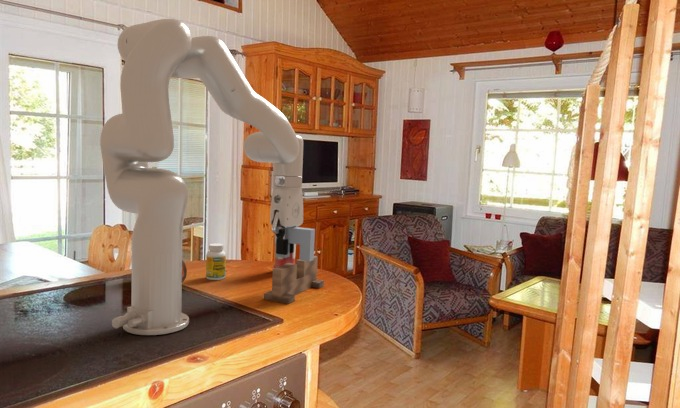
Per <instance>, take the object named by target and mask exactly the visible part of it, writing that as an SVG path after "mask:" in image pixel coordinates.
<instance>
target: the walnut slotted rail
mask: <svg viewBox="0 0 680 408" xmlns="http://www.w3.org/2000/svg"><path fill="white" fill-rule="evenodd" d="M318 257H319V256H318V255H314V260H312V261H302V260H299V259H295V264H293V263H287V264H284V265H282V266H279V267H276V268H274V267H272V275H271V276H272V278H271V279H272V281H271V290H269V291H266V292H264V293H263V300H264V301H271V302H274V303H281V304H286V305H290V304H291V303H294V302H295V301H296V299H295V298H296V295H298V294H300V293H303V292H305V291H306V290H309V289H311V288H314V289H315V288H316V289H321V288H323V287H324V286H325V280H324V279H323V280H322V279H318Z"/></svg>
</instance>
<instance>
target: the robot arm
mask: <svg viewBox="0 0 680 408" xmlns="http://www.w3.org/2000/svg"><path fill="white" fill-rule="evenodd" d="M116 43H117V50H118V53H119V55H120V57H121V58H122V60H123V61H124V65H123V66H122V70H121V75H120V81H119V83H120V85H119V86H120V87H119V88H120V99H121V109H122V113H119V114H118V113H117V114H114V116H112V117H109V119H107V121H106V122H105V123H104V125H103V126H102V128H101V129H102V130H101V132H100V142H99V143H100V144H99V145H100V151H101V158H102V159H101V160H102V164H103V165H102V166H103V172H104V177H105V184H106V188H107V192H108V196H109V198H110V200H111V202H112V203H113V204H114V206H115V207H116V208H118V209H120V210H122V211H123V212H126V213H130V214H135V215H137V218H136V221H135V224H134V227H133V229H132V234H131V296H130V297H131V299H130V300H131V305H130V306H127V310H126V311H127V312H125V313H124V315H120V316H117V317H114V318H113V319H112V320H111V326H112V327H113V328H114V329H119V328H121V327H122V328H123V330H124V331H125V332H127V333H130V334H133V335H139V336H157V335H168V334H171V333H176V332H179V331H181V330H183V329H185V328H187V326H188V325H189V323H190V317H189V316H188V314H186V313H184V312H182V293H183V292H182V286H183V285H182V284H183V283H182V260H183V233H184V232H183V230H184V221H185V215H186V210H187V207H188V201H189V190H188V186H187V184H186V182H185V180H184V179H183V178H182V177H181V176H180V174H178V173H176V172H174V171H172V170H168V169H164V168H155V167H154V168H153V167H149V163H158V162H159V163H160V162H162V161H164V160H167V159H168V158H169V157H170V156H171V155H172V153H173V151H174V148H175V139H174V129H173V122H172V113H171V108H170V107H171V105H170V99H169V98H170V97H169V86H170V81H171V79H172V78H178V79H185V80H187V79H188V80H190V79H200V81H201V83H202V84H203V85H204V87H205V89H207V91H208V92H209V94H210V95H211V97H212V98H213V100H214V102H216V105H217V106H218V107H219V109H220V111H221V112H223V113H224V114H225V115H228V116H229V117H231V118H233V119H236V120H238V121H239V122H240V121H241V122H244V123H245V124H248V125H250V126H251V127H253V128H255V129H256V130H258V131H255V132H253V133H251V134H249V135H247V137H246V138H245V140H244V142H243V151H244V154H245V156H247V158H248V159H250V160H251V161H254V162H255V163H265V164H266V163H267V164H268V163H269V164H270V163H271V164H272V165H273V167H272V193H271V202H270V212H269V215H270V216H269V217H270V218H269V219H270V220H269V222H270V225H271V228H270V230H271V232H272V233H274V238H275V237H276V253H277V254H282V255H287V254H288V239H287V228H291V227H300V226H301V225H303V223H304V196H303V164H304V160H303V159H304V138H303V137H302V136H300V135H299V134H298V135H297V134H296V132H295V130H294V127H293V126H292V125H291V123H290V121H289V120H288V118H287V117H286V116H285V115H284V113H283V112H281V110H279V109H278V108H277V107H276V106H275V105H273V104H272V103H271V102H269V101H268V100H267V99H266V98H264V97H263V96H261V95H260V94H258V93H257V92H256V91H255V90H254V89H253V87H252V86H251V85H250V82H249V81H248V79H247V78H246V77H245V75H244V73H243V70H241V68H240V66H239V65H238V63H237V61H236V60H235V58H234V56H233V55H232V53H231V51H230V50H229V48H228V46H227V45H226V43H225V42H224V41H223V40H222V39H221V38H219V37H216V36H215V35H214V36H213V35H202V36H195V37H192V34H191V31H190V29H189V27H188V26H187V25H186V24H185V23H184V22H182V21H181V20H178V19H174V18H162V19H156V20H150V21H148V22H142V23H138V24H133V25H130V26H128V27H126V28H124V29H123V30H122V32H121V33H120V34H119V36H118V38H117V42H116ZM281 225H282V226H284V227H280V226H281ZM280 229H282V230H283V231H282V230H280ZM275 235H276V236H275ZM293 252H294V244H291V243H290V253H293Z"/></svg>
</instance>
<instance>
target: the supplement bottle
mask: <svg viewBox="0 0 680 408" xmlns="http://www.w3.org/2000/svg"><path fill="white" fill-rule="evenodd" d="M224 247H225V246H224V244H223V243H218V242H217V243H209V244H208V250H209V251H207V252H206V258H205V260H206V262H205V269H206V270H205V278H206V280H210V281H221V280H224V279H226V267H227V266H226V263H227V261H226V260H227V258H226V257H227V255H226V252H225V251H224Z"/></svg>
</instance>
